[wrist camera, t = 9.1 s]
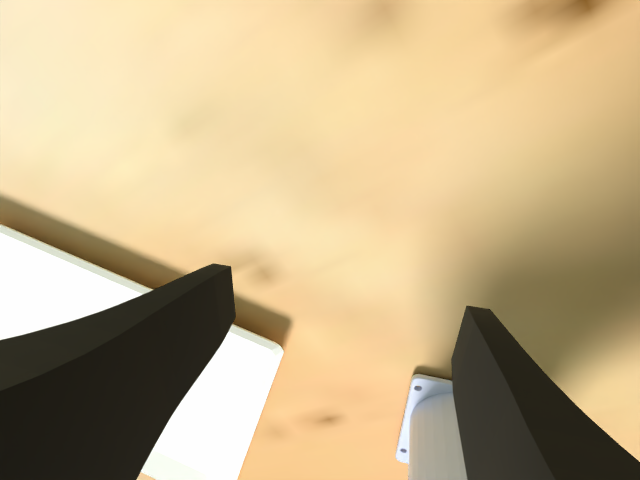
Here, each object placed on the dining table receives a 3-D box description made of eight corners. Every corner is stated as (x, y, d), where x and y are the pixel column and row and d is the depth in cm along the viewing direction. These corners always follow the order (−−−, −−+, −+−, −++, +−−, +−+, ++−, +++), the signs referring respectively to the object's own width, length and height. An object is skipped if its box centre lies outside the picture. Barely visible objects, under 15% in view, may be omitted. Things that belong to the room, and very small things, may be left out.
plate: (30, 398, 40) (12, 413, 38) (-8, 202, 27) (-37, 211, 26) (232, 492, 38) (224, 513, 37) (293, 330, 26) (283, 350, 24)
